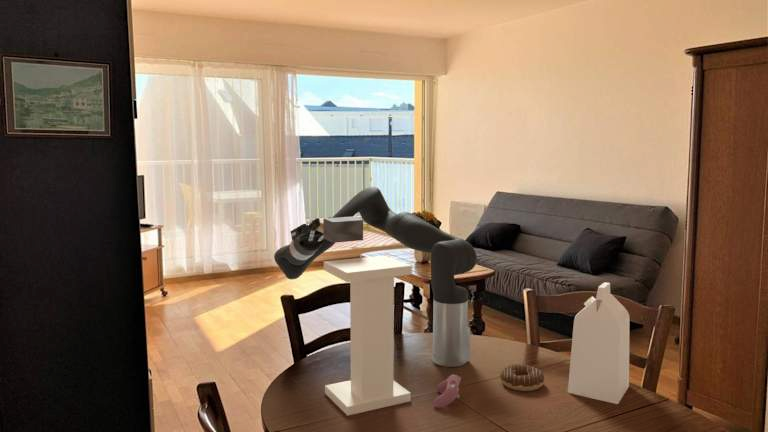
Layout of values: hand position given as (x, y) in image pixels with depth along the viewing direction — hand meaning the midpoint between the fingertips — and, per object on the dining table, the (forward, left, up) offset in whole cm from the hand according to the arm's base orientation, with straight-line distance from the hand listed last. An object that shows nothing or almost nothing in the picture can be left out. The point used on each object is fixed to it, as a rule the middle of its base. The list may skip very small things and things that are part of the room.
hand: (324, 220), depth 160 cm
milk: (-52, +47, -39) cm, 80 cm away
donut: (-38, +36, -39) cm, 65 cm away
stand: (0, +25, -39) cm, 46 cm away
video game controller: (-16, +35, -39) cm, 55 cm away
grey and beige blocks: (0, +5, -3) cm, 6 cm away
